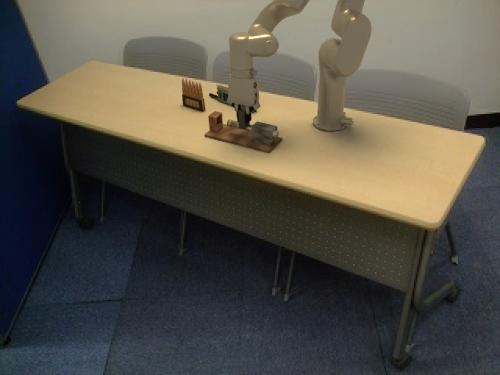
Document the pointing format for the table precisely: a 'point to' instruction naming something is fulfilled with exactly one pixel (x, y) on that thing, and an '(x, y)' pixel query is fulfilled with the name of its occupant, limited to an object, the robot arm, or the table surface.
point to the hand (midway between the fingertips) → (244, 121)
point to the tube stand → (243, 134)
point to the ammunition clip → (192, 95)
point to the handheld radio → (224, 95)
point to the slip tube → (242, 124)
